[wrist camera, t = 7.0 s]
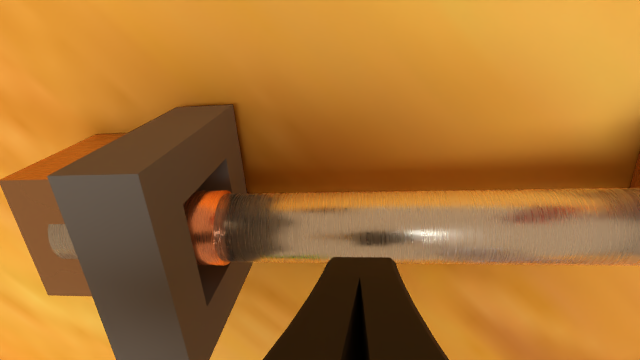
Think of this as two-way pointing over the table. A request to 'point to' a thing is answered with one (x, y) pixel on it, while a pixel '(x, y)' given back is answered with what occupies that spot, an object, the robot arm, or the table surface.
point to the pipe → (354, 225)
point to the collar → (154, 232)
